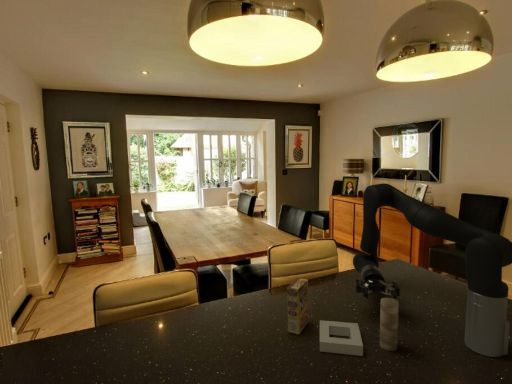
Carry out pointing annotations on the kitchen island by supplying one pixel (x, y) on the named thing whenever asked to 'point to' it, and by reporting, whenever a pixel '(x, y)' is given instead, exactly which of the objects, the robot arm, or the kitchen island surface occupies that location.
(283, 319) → the kitchen island surface
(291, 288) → the candy box
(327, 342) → the socket block
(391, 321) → the peg
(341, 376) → the kitchen island surface
